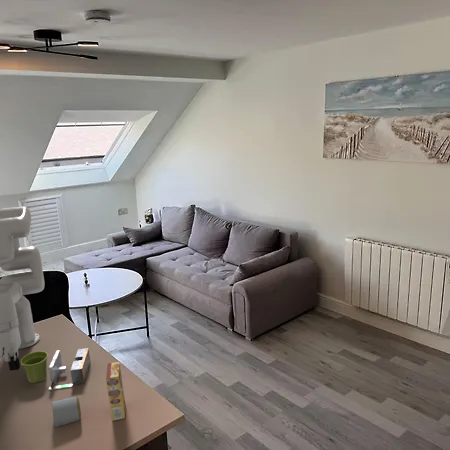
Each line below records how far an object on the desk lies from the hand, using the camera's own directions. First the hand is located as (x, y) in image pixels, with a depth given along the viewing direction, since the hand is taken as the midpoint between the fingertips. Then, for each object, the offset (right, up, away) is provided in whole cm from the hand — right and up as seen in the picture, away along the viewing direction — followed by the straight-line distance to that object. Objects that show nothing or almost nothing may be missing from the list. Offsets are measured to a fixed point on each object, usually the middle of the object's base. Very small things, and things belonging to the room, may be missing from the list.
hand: (15, 368), depth 154 cm
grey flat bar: (+16, -4, +2) cm, 16 cm away
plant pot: (+7, -5, +2) cm, 9 cm away
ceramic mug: (+27, -9, -20) cm, 35 cm away
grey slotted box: (+19, -3, +4) cm, 20 cm away
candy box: (+43, -8, -18) cm, 47 cm away
